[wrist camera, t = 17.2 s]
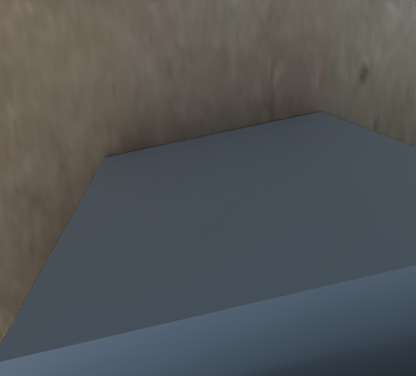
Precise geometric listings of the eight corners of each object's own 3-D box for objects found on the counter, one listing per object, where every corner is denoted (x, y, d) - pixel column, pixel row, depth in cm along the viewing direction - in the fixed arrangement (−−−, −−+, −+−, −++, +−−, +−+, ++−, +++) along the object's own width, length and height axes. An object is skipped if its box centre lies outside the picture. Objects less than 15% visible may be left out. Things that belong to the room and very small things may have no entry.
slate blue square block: (333, 288, 15) (523, 554, 7) (157, 329, 15) (150, 654, 7) (320, 111, 13) (609, 220, 4) (104, 157, 12) (-10, 364, 4)
